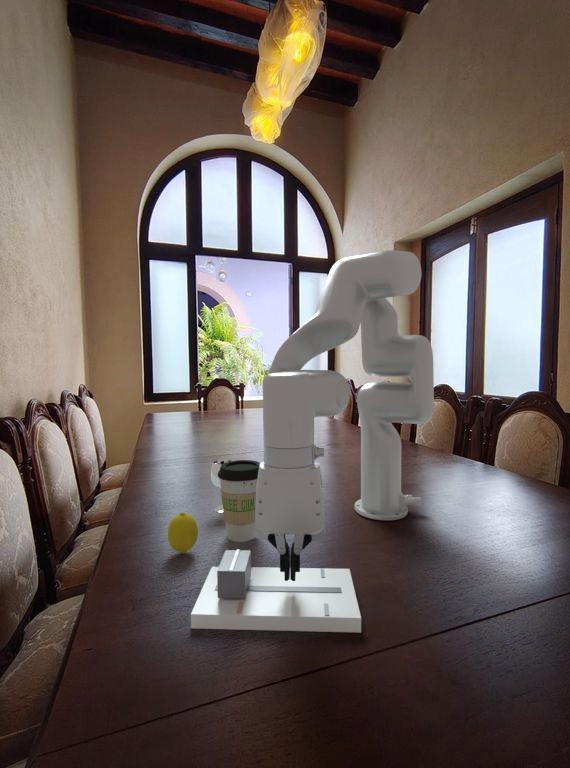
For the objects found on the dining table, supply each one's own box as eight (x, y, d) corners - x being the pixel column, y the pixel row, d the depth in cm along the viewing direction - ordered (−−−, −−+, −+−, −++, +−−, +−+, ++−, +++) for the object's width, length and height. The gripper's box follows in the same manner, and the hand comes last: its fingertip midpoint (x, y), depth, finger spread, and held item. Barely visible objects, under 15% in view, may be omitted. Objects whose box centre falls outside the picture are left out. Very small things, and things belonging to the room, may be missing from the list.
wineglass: (230, 514, 89) (229, 465, 89) (207, 512, 90) (206, 464, 90) (237, 505, 95) (237, 459, 94) (216, 504, 96) (216, 458, 95)
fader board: (349, 580, 61) (349, 568, 61) (361, 632, 49) (361, 617, 49) (212, 578, 62) (212, 565, 62) (191, 628, 50) (190, 613, 50)
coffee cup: (220, 549, 72) (219, 473, 71) (216, 528, 82) (215, 461, 81) (269, 542, 75) (269, 469, 74) (260, 522, 84) (259, 457, 84)
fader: (250, 574, 59) (250, 549, 59) (245, 598, 53) (244, 570, 53) (226, 574, 59) (225, 549, 59) (217, 598, 53) (217, 570, 53)
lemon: (186, 543, 75) (186, 504, 74) (204, 552, 71) (203, 511, 71) (162, 554, 70) (161, 513, 70) (179, 564, 67) (178, 521, 66)
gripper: (337, 449, 58) (337, 563, 59) (243, 449, 59) (244, 561, 60) (342, 462, 51) (342, 592, 52) (234, 462, 51) (236, 590, 52)
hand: (290, 575), depth 56 cm, fingers closed
